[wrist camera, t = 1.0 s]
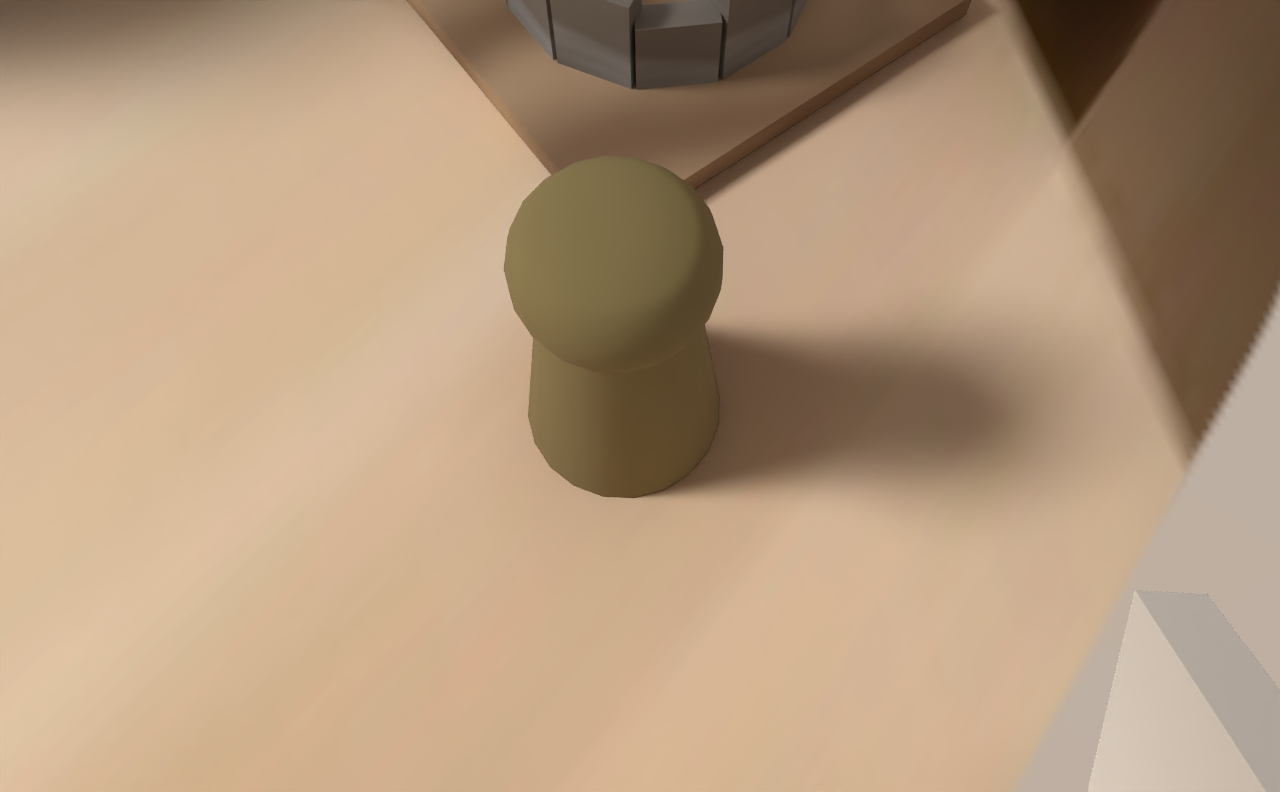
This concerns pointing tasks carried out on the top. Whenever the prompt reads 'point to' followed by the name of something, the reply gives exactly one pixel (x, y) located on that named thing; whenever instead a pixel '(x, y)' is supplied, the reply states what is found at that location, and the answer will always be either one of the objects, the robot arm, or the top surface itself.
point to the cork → (618, 322)
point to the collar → (672, 69)
